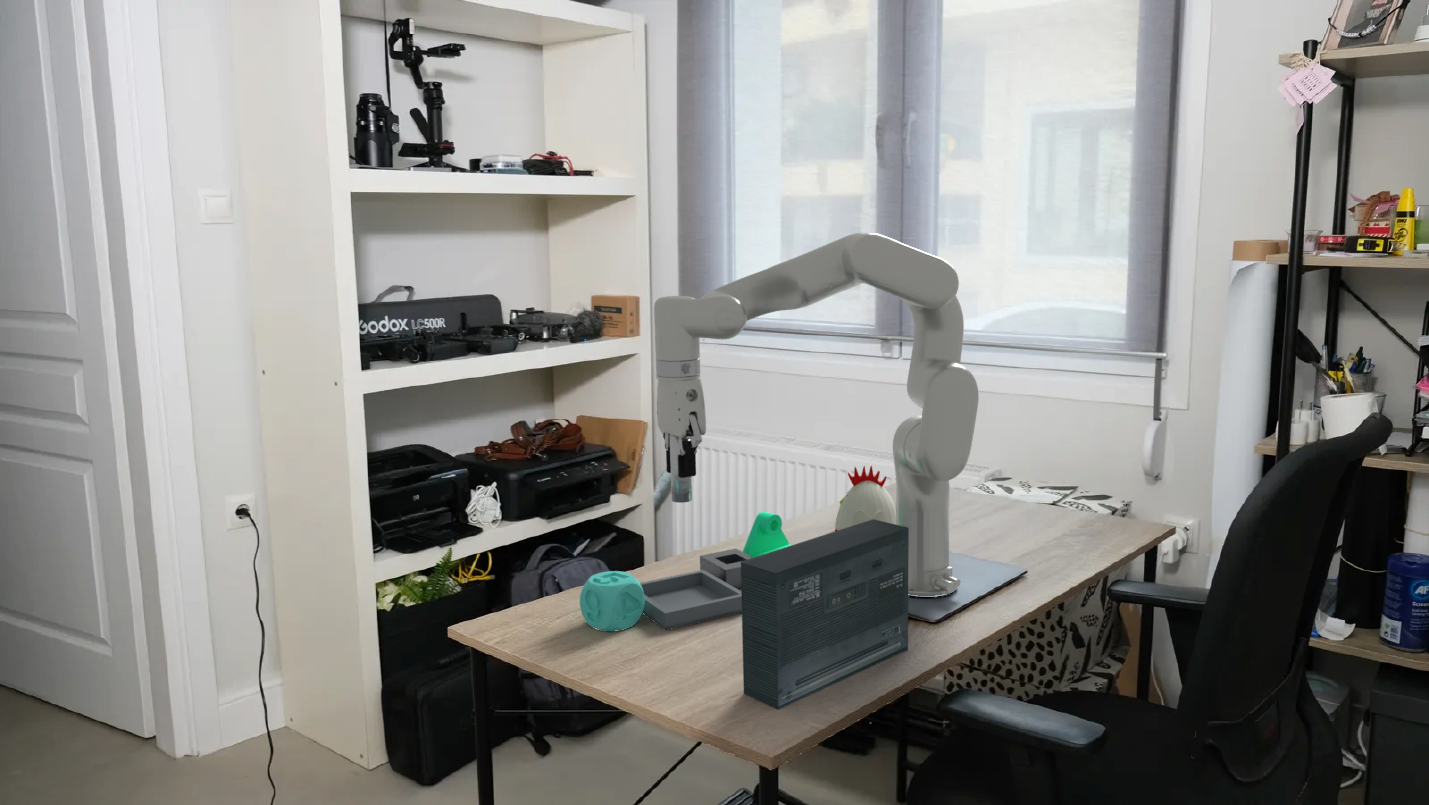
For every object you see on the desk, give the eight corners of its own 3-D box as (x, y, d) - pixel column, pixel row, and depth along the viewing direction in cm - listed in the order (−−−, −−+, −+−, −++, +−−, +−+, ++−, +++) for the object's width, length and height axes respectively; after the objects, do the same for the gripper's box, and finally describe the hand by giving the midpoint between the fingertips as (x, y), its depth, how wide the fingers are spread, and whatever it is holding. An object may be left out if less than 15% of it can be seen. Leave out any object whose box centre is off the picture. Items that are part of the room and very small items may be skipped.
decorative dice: (646, 621, 183) (644, 576, 182) (612, 636, 177) (611, 589, 176) (613, 611, 189) (611, 567, 187) (579, 625, 183) (577, 580, 181)
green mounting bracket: (768, 577, 204) (767, 525, 202) (741, 568, 210) (740, 517, 208) (811, 563, 212) (811, 512, 210) (784, 554, 218) (783, 505, 216)
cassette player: (873, 638, 174) (873, 519, 170) (907, 650, 169) (908, 527, 165) (743, 694, 155) (740, 561, 151) (778, 710, 150) (776, 573, 146)
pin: (695, 500, 186) (694, 425, 183) (677, 503, 184) (675, 428, 182) (686, 496, 189) (684, 422, 186) (667, 499, 187) (665, 424, 185)
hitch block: (763, 582, 201) (763, 562, 200) (726, 590, 197) (725, 570, 196) (736, 568, 210) (735, 548, 209) (700, 575, 206) (699, 555, 205)
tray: (747, 611, 187) (747, 594, 186) (665, 630, 179) (665, 613, 178) (703, 585, 200) (703, 569, 200) (625, 601, 193) (625, 586, 192)
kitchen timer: (834, 524, 237) (834, 458, 235) (897, 525, 236) (898, 458, 233) (835, 543, 224) (835, 473, 221) (902, 544, 222) (903, 473, 220)
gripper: (721, 372, 177) (723, 480, 180) (675, 362, 191) (678, 462, 194) (681, 377, 173) (684, 487, 177) (637, 365, 188) (641, 468, 191)
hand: (681, 473), depth 186 cm, fingers closed on pin, 3 cm apart
